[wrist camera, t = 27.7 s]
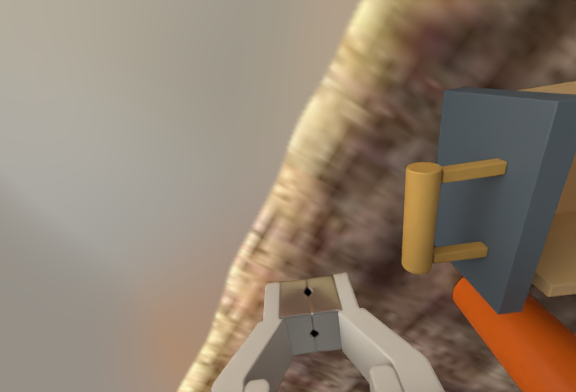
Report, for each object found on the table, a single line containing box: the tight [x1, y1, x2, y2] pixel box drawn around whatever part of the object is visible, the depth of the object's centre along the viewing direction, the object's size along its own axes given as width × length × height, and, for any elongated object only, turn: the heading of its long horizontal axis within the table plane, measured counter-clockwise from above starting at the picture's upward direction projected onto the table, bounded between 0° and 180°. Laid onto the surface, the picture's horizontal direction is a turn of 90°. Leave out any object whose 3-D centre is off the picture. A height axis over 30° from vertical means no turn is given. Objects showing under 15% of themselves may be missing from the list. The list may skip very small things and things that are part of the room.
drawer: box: [402, 81, 576, 314], centre depth 14 cm, size 16×10×7 cm, turn 99°
